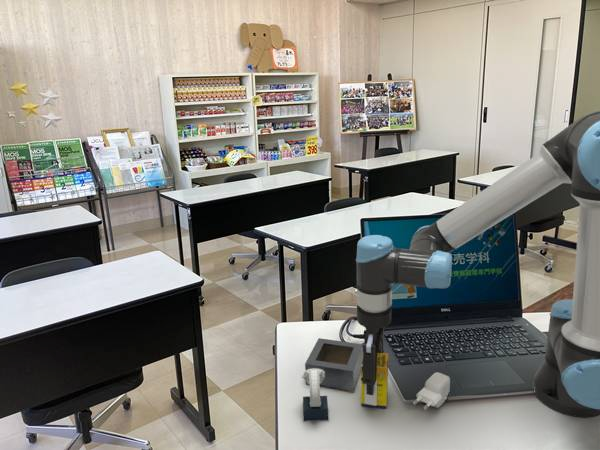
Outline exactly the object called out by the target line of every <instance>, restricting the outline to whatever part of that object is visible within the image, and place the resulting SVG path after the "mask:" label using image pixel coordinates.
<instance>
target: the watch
mask: <svg viewBox="0 0 600 450" xmlns="http://www.w3.org/2000/svg"><path fill="white" fill-rule="evenodd" d="M324 378H325V372H324V371H323V370H321V369H308V370H306V371H305V370H304V371H303V373H302V374H301V379H304V381H305V383H306V382H307V384H309V385H308V386H309V396H308V395H307V396H302V412H303V414H302V415H303V422H313V421H316V422H317V421H329V404H328V395H320V393H321V391H320V388H321V387H320V384H321V383H322V381H323V380H324ZM317 385H318V386H317Z"/></svg>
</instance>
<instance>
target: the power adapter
mask: <svg viewBox="0 0 600 450" xmlns="http://www.w3.org/2000/svg"><path fill="white" fill-rule="evenodd" d="M450 390H451V378H450V376H449V375H446V374H443V373H441V372H439V371H437V372H434V373H433V374H431V376H430V377H428V379H427V380H426V381H425V383H424V387H423V388H421V389H420V391H418V392H417V393H416V395H415V396H416V399H415V400H414V401H413V402H412V404H413V405H414V406H416V405H417V404H418V403H419V402H422V403H425V405H424V406H423V408H422V409H423V410H424V411H426V410H427V409H428V408H429V407H434V408H436V409H437V408H440V407H441V406H443V404H444V403H445V402H446V401H445V397H446V396H447V395H448V393H449V392H450ZM449 394H450V393H449Z"/></svg>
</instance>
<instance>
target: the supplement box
mask: <svg viewBox="0 0 600 450" xmlns="http://www.w3.org/2000/svg"><path fill="white" fill-rule="evenodd" d="M362 377H363V358H362V363H361V372H360V379H361V378H362ZM376 379H377V405H376V406H374V405H369V404H365V384H363V382H362V381H361V380H360V406H361V407H367V408H377V409H387V407H388V406H387V405H388V404H387V403H388V400H387V399H388V385H389V384H388V383H389V382H388V381H389V380H388V379H389V353H385V352H383V353H378V355H377V371H376Z"/></svg>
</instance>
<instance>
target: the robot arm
mask: <svg viewBox="0 0 600 450" xmlns="http://www.w3.org/2000/svg"><path fill="white" fill-rule="evenodd" d="M562 184H571V189H570V195H571V197H572V198H574V200H575V201H577V203H579V214H578V227H577V239H576V251H575V252H576V253H575V265H574V267H575V268H574V278H573V279H574V280H573V293H572V299H570V298H569V299H560V300H556V301H554V303H553V304H552V306H551V309H550V310H551V311H550V312H549V317H550V318H549V324H548V332H547V338H546V339H547V340H546V347H545V355H544V359H543V361H542V362H541V364H540V365H539V367H538V369H537V370H536V371H535V373H534V377H533V381H532V385H533V384H534V387H535V393H534V395H535V396H536V398H537V399H538V400H539V401H540V402H542V404H544V405H546V406H547V407H549V408H550V409H553V410H554V411H557V412H558V413H562V414H565V415H569V416H573V417H579V418H592V417H597V416H600V111H599V110H598V111H595V112H591V113H588V114H585V115H583V116H582V117H580V118H578V119H577V120H575V121H574V122H572V123H571V124H569V125H568V126H566V127H565V128H564V129H563V130H561V131H560V132H558V133H557V134H555V135H554V136H553V137H552V138H550V139H549V140H547V141H546V142H544V143H543V144H541V145H540V149H539V152H538V153H537V154H535V155H534V156H532V157H531V158H529V159H528V160H527V161H525V162H523V163H522V164H520V165H519V166H517V167H516V168H514V169H513V170H511V171H509V173H507V174H506V175H504V176H502V177H501V178H499V179H497V180H496V181H495V182H493V183H491V184H490V185H489V186H487V187H486V188H484V189H482V190H481V191H480V192H478V193H477V194H476V195H474V196H473V197H470V198H469V199H468V200H466V201H464V202H463V203H462V204H461V205H459V206H458V207H456V208H454V209H453V210H452V211H450V212H449V213H447V214H446V215H443V216H442V217H441V218H439V219H438V220H437V221H435V222H433V223H432V224H430V225H424V226H421V227H419V228H418V229H417V231H416V232H415V233H414V234H413V236H412V238H411V240H410V246H409V249H408V248H407V249H406V248H399V247H398V248H397V247H394V244H393V240H392V239H391V238H390V237H388V236H383V235H380V234H372V235H371V234H370V235H366V236H363V237H361V238H360V239H359V240H358V241H357V244H356V247H357V248H356V258H355V262H356V289H354V294H356V304H357V306H356V321H357V323H358V324H359V325H360V326H362V327H364V330H363V341H364V342H363V343H362V344H363V345H362V347H363V377H362V378H361V377H360V382H361V381H362V382H363V384H365V404H369V405H374V406H376V405H377V379H376V371H377V355H378V353H385V351H384V332H385V328H386V327H388V326H389V325H390V324H391V322H392V305H393V284H394V285H403V286H412V287H421V288H426V289H447V288H449V287H450V286H451V281H452V280H451V279H452V278H451V277H452V267H453V266H452V264H453V257H452V252H454V251H455V250H457V249H458V248H459V247H462V246H463V245H465V244H466V243H468V242H469V241H472V240H473V239H474V238H476V237H478V236H479V235H481V234H482V233H484V232H486V231H487V230H489V229H491V228H492V227H493V226H495V225H497V224H498V223H500V222H502V221H503V220H505V219H508V217H510V216H511V215H513V214H515V213H516V212H518V211H520V210H522V209H524V207H526V206H528V205H529V204H531V203H532V202H534V201H536V200H537V199H539V198H540V197H542V196H544V195H546V194H547V193H549V192H551V191H552V190H554V189H555V188H557V187H558V186H560V185H562Z"/></svg>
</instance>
